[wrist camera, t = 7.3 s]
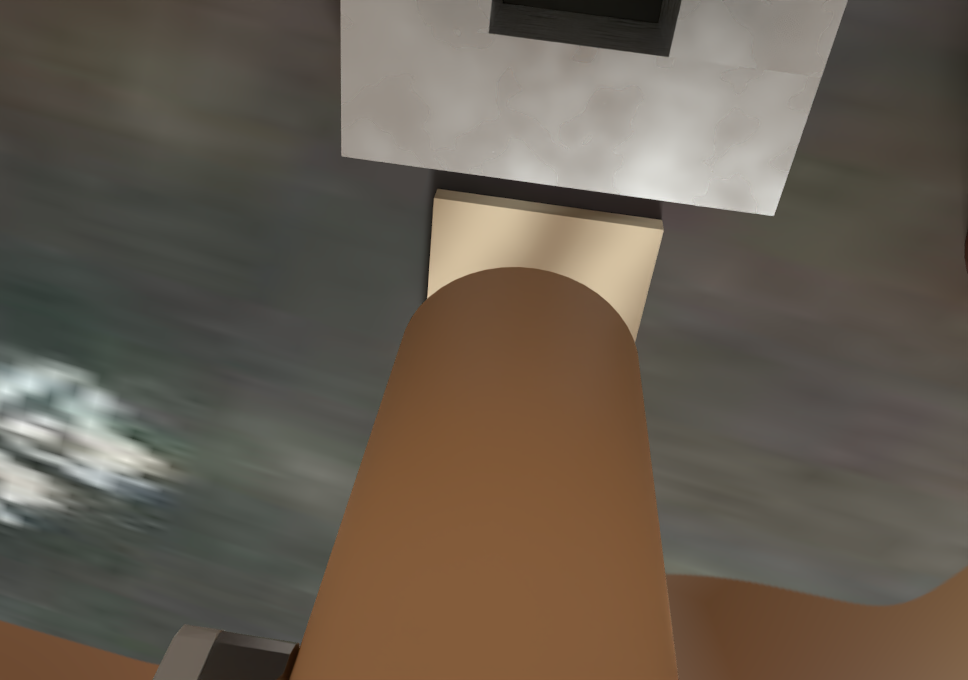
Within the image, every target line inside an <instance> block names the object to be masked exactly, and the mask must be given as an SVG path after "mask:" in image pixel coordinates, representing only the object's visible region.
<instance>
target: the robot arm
mask: <svg viewBox="0 0 968 680" xmlns="http://www.w3.org/2000/svg"><path fill="white" fill-rule="evenodd" d="M299 649H300V648H299V643H297V642H291V641H284V640H278V639H271V638H265V637H258V636H252V635H245V634H239V633H233V632H227V631H224V630H219V629H212V628H205V627H198V626H191V625H183V626H182V628H181V629H180V630H179V631H178V633H177V634H176V635H175V636H174V637H173V639H172V641H171V644H170V646H169V648H168V650H167V652H166V654H165V656H164V658H163V660H162V662H161V664H160V666H159V668H158V670H157V672H156V674H155V676H154V678H153V680H289V679H290V676H291V673H292V670H293V667H294V664H295V661H296V658H297V655H298V652H299Z"/></svg>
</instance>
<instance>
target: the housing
mask: <svg viewBox="0 0 968 680" xmlns="http://www.w3.org/2000/svg"><path fill="white" fill-rule="evenodd" d="M847 1H848V0H663V1H662V6H661V11H660V15H659V20H658V23H651V22H643V21H635V20H628V19H620V18H612V17H605V16H597V15H589V14H582V13H574V12H566V11H559V10H551V9H543V8H536V7H528V6H520V5H513V4H505V3H502V2H503V0H341V149H342V156H344V157H351V158H358V159H365V160H373V161H380V162H387V163H394V164H401V165H409V166H416V167H423V168H430V169H437V170H445V171H452V172H459V173H466V174H474V175H481V176H488V177H495V178H502V179H510V180H517V181H524V182H531V183H539V184H546V185H553V186H560V187H567V188H575V189H582V190H589V191H596V192H603V193H611V194H618V195H625V196H632V197H640V198H647V199H654V200H661V201H668V202H676V203H683V204H690V205H697V206H705V207H712V208H719V209H726V210H733V211H741V212H748V213H755V214H762V215H770V216H774V214H775V211H776V208H777V205H778V202H779V199H780V196H781V193H782V190H783V187H784V185H785V182H786V179H787V176H788V173H789V170H790V167H791V164H792V161H793V158H794V155H795V152H796V150H797V147H798V144H799V141H800V138H801V135H802V132H803V129H804V126H805V123H806V120H807V117H808V115H809V112H810V109H811V106H812V103H813V100H814V97H815V94H816V91H817V88H818V85H819V82H820V80H821V77H822V74H823V71H824V68H825V65H826V62H827V59H828V56H829V53H830V50H831V47H832V45H833V42H834V39H835V36H836V33H837V30H838V27H839V24H840V21H841V18H842V15H843V12H844V10H845V7H846V4H847Z"/></svg>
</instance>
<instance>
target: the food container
mask: <svg viewBox="0 0 968 680" xmlns="http://www.w3.org/2000/svg"><path fill="white" fill-rule="evenodd" d="M965 262H966V269H967V273H968V232H967V236H966V241H965Z"/></svg>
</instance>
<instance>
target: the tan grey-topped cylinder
mask: <svg viewBox="0 0 968 680" xmlns="http://www.w3.org/2000/svg"><path fill="white" fill-rule="evenodd" d="M289 680H679V679H678V671H677V663H676V655H675V647H674V639H673V632H672V623H671V615H670V607H669V600H668V591H667V584H666V576H665V568H664V560H663V552H662V544H661V536H660V528H659V520H658V512H657V504H656V496H655V488H654V480H653V472H652V464H651V456H650V448H649V440H648V432H647V424H646V416H645V408H644V400H643V392H642V384H641V376H640V368H639V360H638V352H637V349H636V346H635V342H634V339H633V337H632V335H631V333H630V331H629V328H628V326H627V325H626V323H625V322H624V320H623V319H622V318H621V316H620V315H619V313H618V312H617V311H616V310H615V309H614V308H613V307H612V306H611V305H610V304H609V303H608V302H607V301H606V300H605V299H604V298H602V297H601V296H600V295H599V294H598V293H596V292H595V291H593V290H591V289H590V288H588V287H587V286H585V285H584V284H582V283H579V282H577V281H575V280H573V279H571V278H569V277H566V276H563V275H560V274H557V273H554V272H550V271H546V270H541V269H536V268H525V267H501V268H494V269H487V270H482V271H479V272H475V273H471V274H468V275H466V276H463V277H461V278H458V279H456V280H454V281H452V282H450V283H449V284H447V285H445V286H443V287H441V288H440V289H439V290H438V291H436V292H435V293H434V294H432V295H431V296H430V297H429V298H428V299H427V300H426V301H425V302H424V303H423V304H422V305H421V306H420V307H419V308H418V310H417V311H416V312H415V314H414V315H413V316H412V318H411V320H410V322H409V324H408V326H407V328H406V329H405V332H404V335H403V338H402V341H401V344H400V347H399V350H398V353H397V356H396V359H395V362H394V365H393V368H392V371H391V374H390V377H389V380H388V384H387V387H386V390H385V393H384V396H383V399H382V402H381V405H380V408H379V411H378V414H377V417H376V420H375V423H374V426H373V429H372V432H371V435H370V438H369V441H368V444H367V447H366V450H365V453H364V456H363V459H362V462H361V465H360V468H359V471H358V474H357V477H356V480H355V483H354V486H353V489H352V492H351V495H350V498H349V501H348V504H347V507H346V510H345V513H344V516H343V519H342V522H341V525H340V528H339V531H338V534H337V537H336V540H335V543H334V546H333V549H332V552H331V555H330V558H329V561H328V564H327V567H326V570H325V574H324V577H323V580H322V583H321V586H320V589H319V592H318V595H317V598H316V601H315V604H314V607H313V610H312V613H311V616H310V619H309V622H308V625H307V628H306V631H305V634H304V637H303V640H302V643H301V646H300V649H299V652H298V655H297V658H296V661H295V664H294V667H293V670H292V673H291V676H290V679H289Z"/></svg>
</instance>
